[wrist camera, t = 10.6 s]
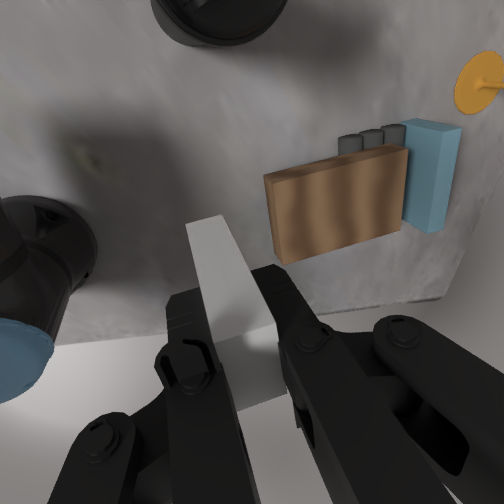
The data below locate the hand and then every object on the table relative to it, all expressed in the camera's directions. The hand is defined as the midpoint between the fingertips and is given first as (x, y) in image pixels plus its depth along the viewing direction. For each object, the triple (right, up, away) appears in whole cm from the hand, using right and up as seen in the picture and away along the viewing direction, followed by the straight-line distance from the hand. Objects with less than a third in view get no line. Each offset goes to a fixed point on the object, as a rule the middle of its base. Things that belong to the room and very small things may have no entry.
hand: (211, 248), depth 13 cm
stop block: (+28, +14, +42) cm, 52 cm away
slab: (+14, +8, +37) cm, 40 cm away
